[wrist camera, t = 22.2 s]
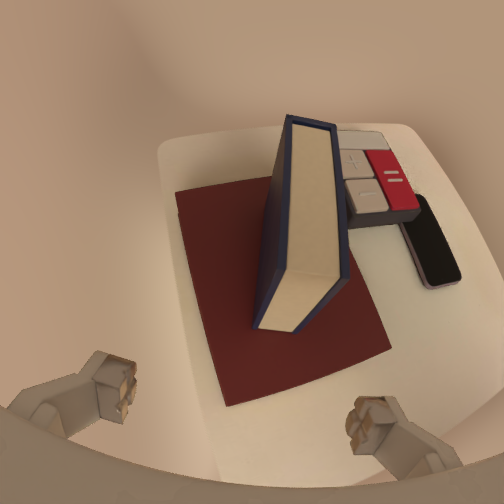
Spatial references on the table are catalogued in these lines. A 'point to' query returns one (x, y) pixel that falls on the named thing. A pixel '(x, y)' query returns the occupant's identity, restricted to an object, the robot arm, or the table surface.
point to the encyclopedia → (243, 297)
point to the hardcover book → (302, 229)
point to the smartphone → (430, 248)
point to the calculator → (374, 182)
